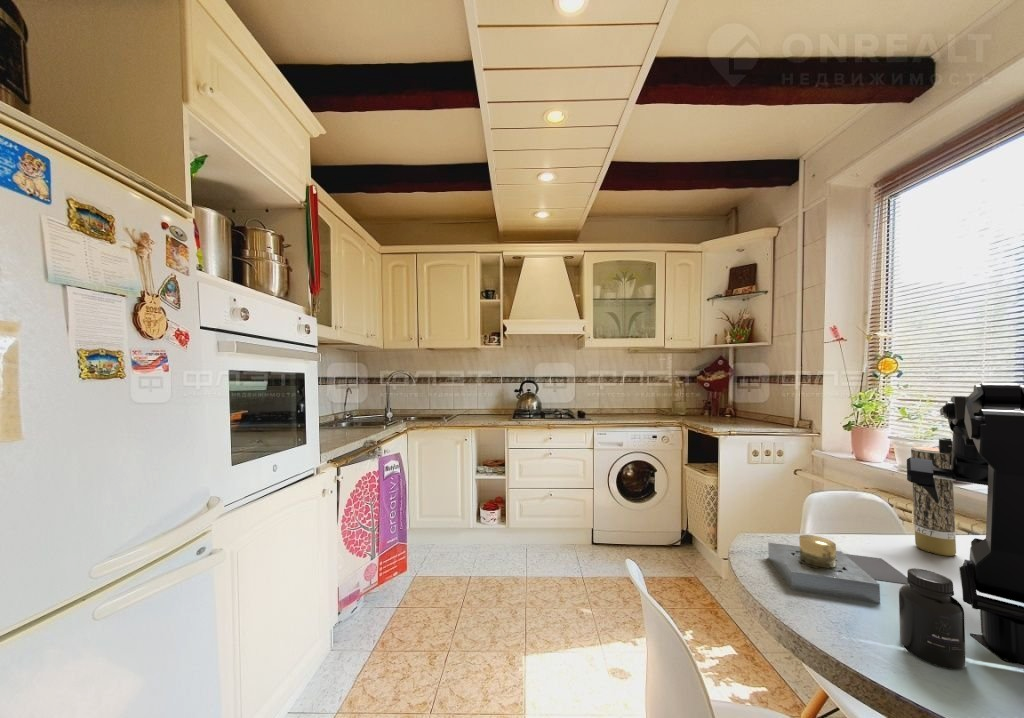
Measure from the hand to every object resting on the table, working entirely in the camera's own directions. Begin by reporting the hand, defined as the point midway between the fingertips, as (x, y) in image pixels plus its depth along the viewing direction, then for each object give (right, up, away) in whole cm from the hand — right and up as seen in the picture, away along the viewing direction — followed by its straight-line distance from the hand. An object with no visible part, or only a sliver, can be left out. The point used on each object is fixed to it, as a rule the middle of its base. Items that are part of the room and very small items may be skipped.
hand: (969, 507), depth 82 cm
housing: (-34, -15, -2) cm, 37 cm away
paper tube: (+6, -16, +12) cm, 20 cm away
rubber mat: (-19, -15, +2) cm, 24 cm away
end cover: (-34, -14, -2) cm, 37 cm away
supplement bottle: (-34, -14, -23) cm, 44 cm away
